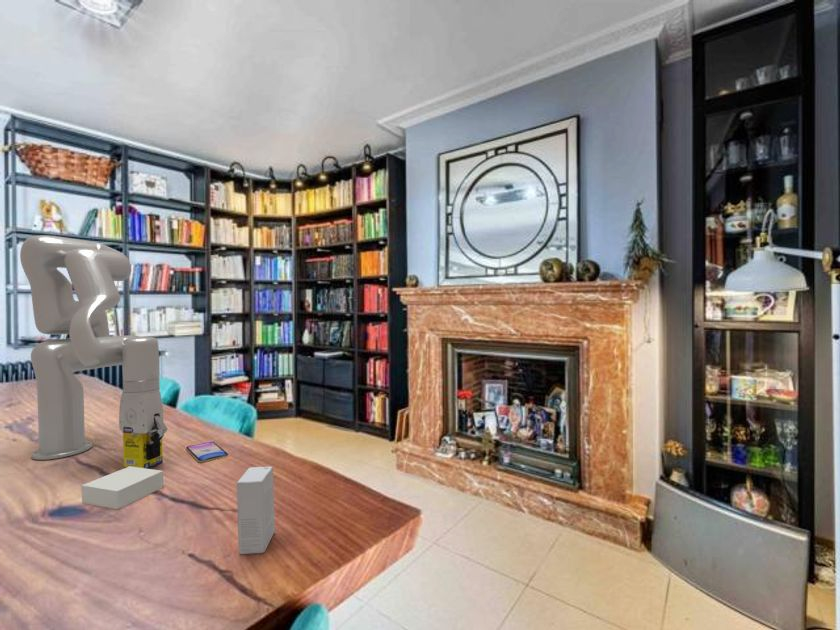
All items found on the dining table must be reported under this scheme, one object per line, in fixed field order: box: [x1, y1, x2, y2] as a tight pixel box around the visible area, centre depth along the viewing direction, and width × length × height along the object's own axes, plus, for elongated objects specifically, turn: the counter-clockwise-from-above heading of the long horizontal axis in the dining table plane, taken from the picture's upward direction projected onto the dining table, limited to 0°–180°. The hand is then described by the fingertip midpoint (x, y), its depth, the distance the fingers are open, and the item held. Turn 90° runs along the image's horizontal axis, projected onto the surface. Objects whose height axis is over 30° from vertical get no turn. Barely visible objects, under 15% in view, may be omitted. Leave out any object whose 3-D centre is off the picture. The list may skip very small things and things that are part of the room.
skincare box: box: [236, 466, 275, 555], centre depth 66 cm, size 6×4×12 cm
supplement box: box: [122, 426, 164, 469], centre depth 99 cm, size 6×6×11 cm
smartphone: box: [185, 441, 229, 464], centre depth 108 cm, size 8×15×1 cm, turn 43°
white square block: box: [81, 466, 164, 510], centre depth 84 cm, size 10×10×4 cm
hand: (143, 455), depth 99 cm, fingers closed on supplement box, 6 cm apart
